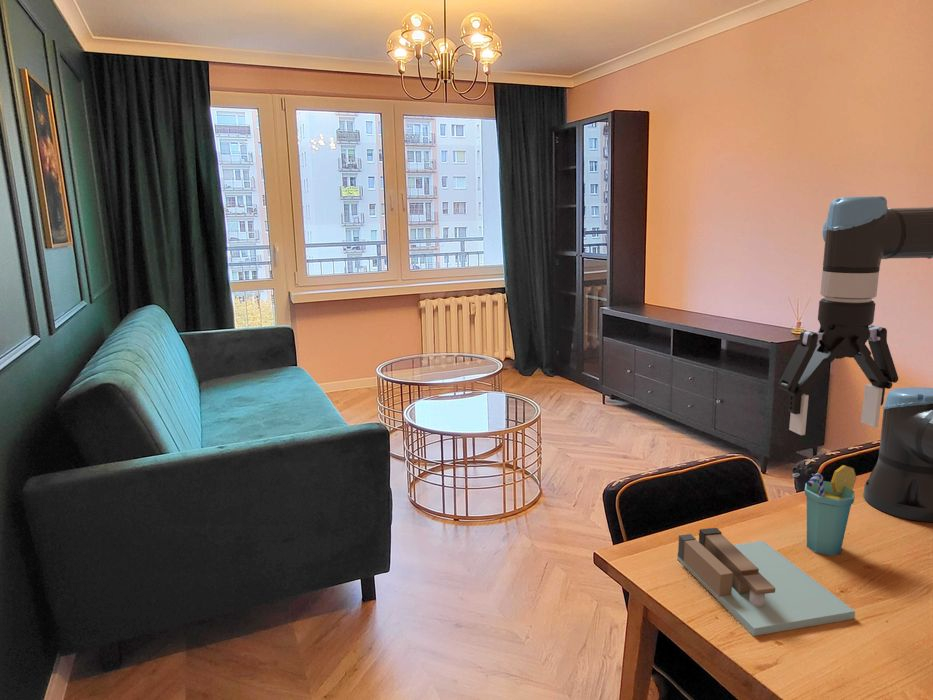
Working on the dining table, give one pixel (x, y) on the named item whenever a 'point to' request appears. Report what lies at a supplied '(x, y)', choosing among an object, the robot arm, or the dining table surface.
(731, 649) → the dining table surface
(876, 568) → the dining table surface
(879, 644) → the dining table surface
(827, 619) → the stool seat
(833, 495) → the cup
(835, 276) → the robot arm
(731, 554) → the leg
